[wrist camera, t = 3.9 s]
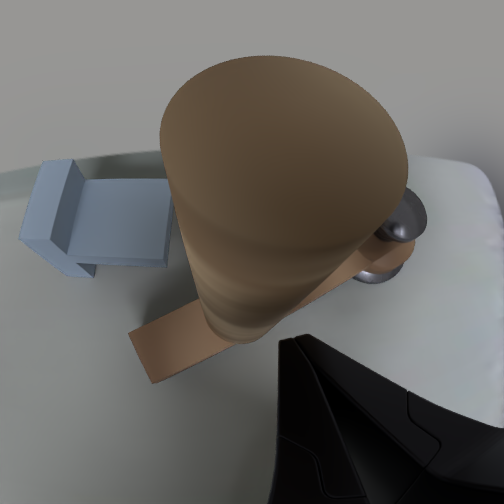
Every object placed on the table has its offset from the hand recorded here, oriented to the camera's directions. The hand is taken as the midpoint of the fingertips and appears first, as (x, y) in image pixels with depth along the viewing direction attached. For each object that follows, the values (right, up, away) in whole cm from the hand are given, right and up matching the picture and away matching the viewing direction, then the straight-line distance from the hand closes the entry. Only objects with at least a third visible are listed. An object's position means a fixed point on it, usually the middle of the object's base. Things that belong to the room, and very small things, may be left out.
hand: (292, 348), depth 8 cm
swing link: (+1, +1, +10) cm, 10 cm away
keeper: (-9, +4, +11) cm, 15 cm away
